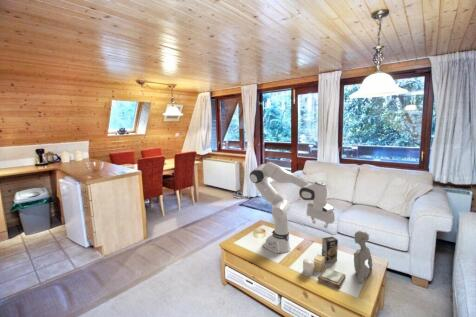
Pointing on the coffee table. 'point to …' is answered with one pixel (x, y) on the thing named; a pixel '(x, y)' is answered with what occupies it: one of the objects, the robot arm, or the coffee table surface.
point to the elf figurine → (362, 256)
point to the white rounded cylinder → (308, 267)
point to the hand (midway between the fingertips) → (319, 225)
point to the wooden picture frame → (331, 277)
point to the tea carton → (319, 262)
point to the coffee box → (329, 248)
